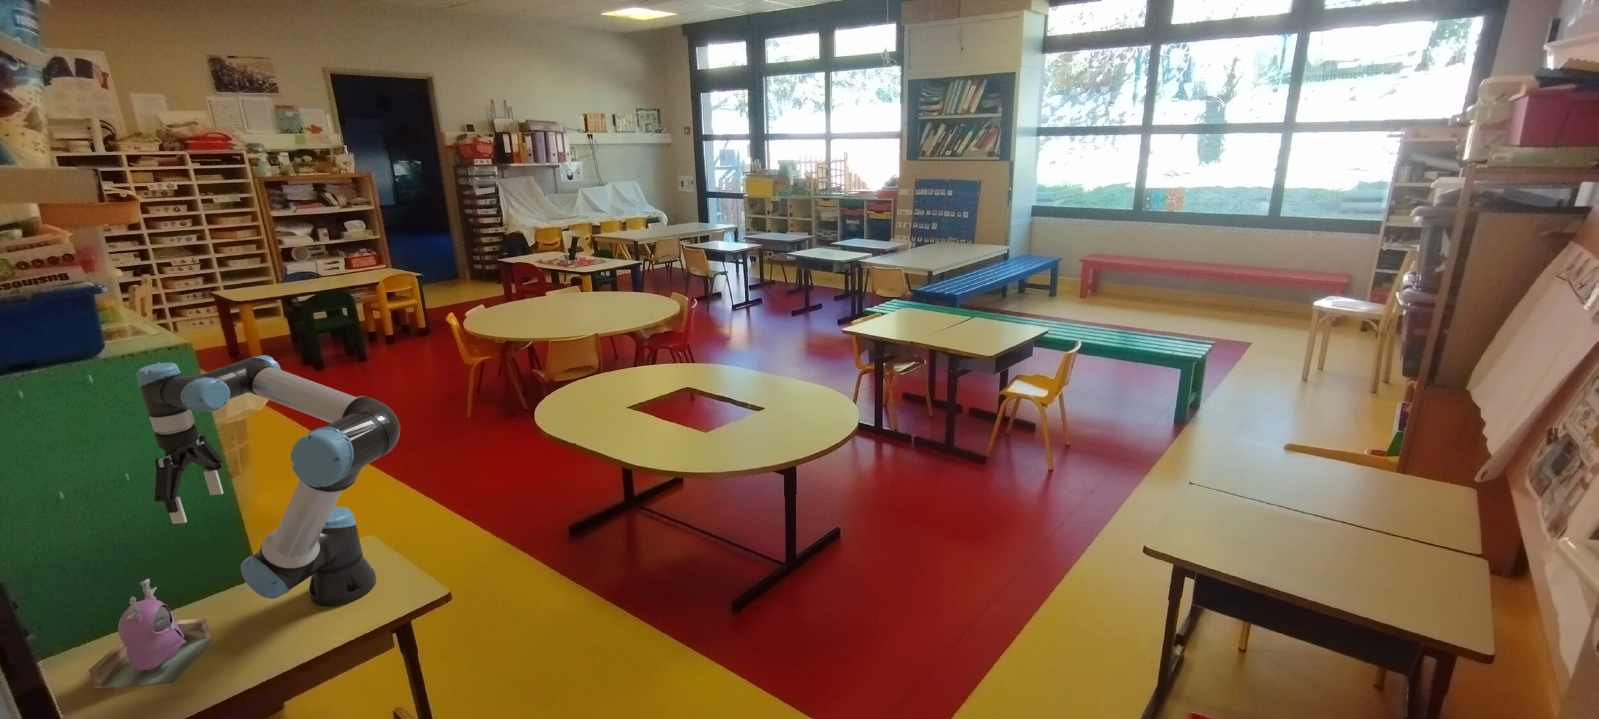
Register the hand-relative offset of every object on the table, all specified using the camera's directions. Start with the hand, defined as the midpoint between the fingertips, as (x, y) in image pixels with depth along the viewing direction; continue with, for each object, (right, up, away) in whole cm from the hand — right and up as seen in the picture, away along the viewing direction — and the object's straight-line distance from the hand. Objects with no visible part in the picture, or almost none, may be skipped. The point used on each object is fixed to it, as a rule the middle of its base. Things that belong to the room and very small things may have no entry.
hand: (199, 507), depth 177 cm
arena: (-1, -33, -9) cm, 35 cm away
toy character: (0, -33, -10) cm, 35 cm away
